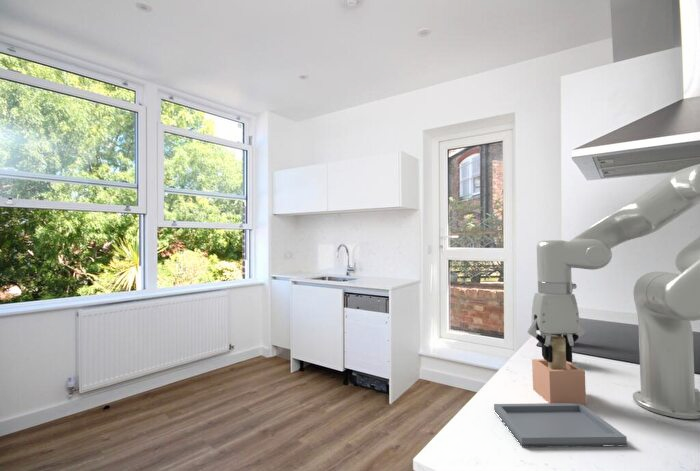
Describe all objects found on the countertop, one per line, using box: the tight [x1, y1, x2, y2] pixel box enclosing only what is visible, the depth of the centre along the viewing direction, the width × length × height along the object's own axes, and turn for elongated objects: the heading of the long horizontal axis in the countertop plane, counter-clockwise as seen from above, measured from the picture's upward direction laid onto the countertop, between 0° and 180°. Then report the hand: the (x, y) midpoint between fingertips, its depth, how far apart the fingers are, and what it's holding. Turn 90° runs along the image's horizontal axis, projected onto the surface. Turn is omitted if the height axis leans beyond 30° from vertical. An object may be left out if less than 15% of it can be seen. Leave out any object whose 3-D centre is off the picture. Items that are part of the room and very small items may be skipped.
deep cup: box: [531, 358, 587, 405], centre depth 89 cm, size 8×8×8 cm
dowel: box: [548, 335, 566, 370], centre depth 89 cm, size 4×4×15 cm
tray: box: [493, 402, 628, 448], centre depth 75 cm, size 20×14×2 cm
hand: (556, 359), depth 89 cm, fingers closed on dowel, 4 cm apart
